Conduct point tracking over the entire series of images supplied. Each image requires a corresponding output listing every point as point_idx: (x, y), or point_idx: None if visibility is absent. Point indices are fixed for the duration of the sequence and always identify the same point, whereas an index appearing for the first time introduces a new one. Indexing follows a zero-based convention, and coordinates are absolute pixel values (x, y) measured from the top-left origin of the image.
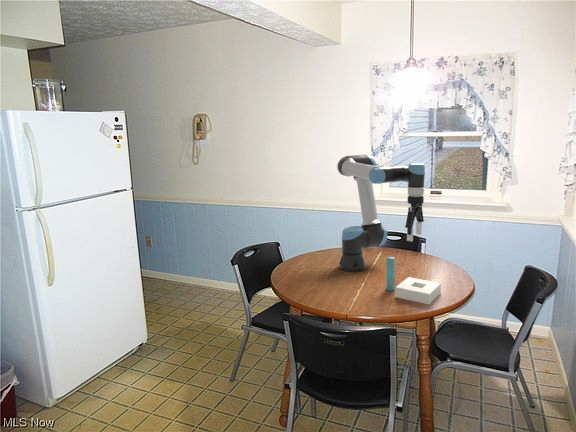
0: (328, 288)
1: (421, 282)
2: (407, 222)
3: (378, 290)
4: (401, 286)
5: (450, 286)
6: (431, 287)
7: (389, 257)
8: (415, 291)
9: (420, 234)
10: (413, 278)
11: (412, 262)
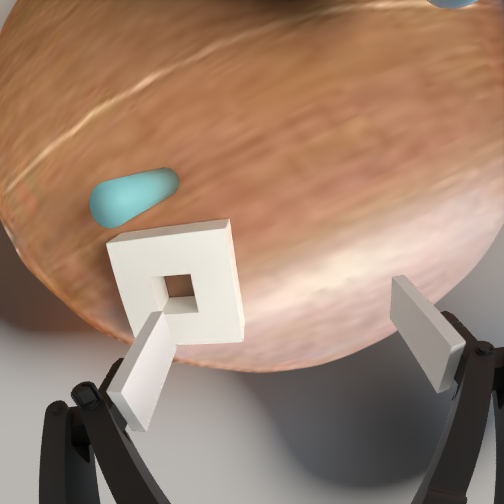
0: (65, 44)
1: (203, 292)
2: (51, 447)
3: (133, 155)
4: (123, 256)
5: (320, 319)
6: (185, 333)
7: (113, 191)
8: (124, 307)
9: (391, 316)
10: (222, 251)
11: (467, 122)
